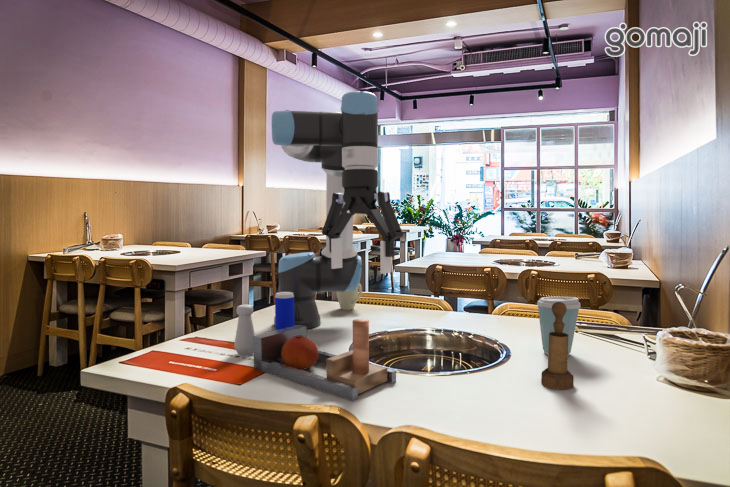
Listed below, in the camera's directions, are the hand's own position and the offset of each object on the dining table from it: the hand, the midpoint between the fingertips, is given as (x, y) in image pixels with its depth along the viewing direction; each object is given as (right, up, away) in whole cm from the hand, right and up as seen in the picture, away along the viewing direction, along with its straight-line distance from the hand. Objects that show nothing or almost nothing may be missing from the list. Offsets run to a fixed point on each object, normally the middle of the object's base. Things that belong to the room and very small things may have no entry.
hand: (360, 270), depth 107 cm
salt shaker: (-30, -24, +26) cm, 47 cm away
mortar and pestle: (+43, -25, +3) cm, 50 cm away
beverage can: (-21, -23, +33) cm, 45 cm away
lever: (-1, -25, +3) cm, 25 cm away
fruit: (-14, -24, +14) cm, 32 cm away
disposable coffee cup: (+51, -23, +26) cm, 62 cm away
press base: (-9, -25, +10) cm, 28 cm away
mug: (-5, -19, +83) cm, 85 cm away
